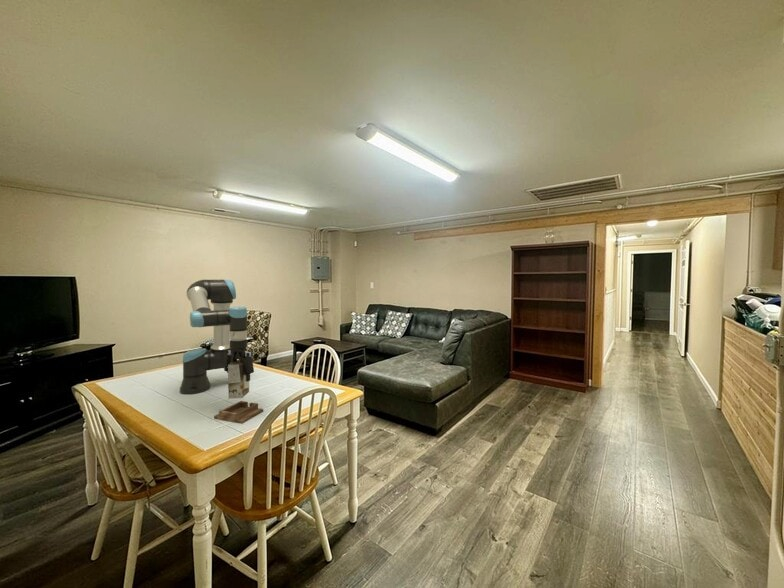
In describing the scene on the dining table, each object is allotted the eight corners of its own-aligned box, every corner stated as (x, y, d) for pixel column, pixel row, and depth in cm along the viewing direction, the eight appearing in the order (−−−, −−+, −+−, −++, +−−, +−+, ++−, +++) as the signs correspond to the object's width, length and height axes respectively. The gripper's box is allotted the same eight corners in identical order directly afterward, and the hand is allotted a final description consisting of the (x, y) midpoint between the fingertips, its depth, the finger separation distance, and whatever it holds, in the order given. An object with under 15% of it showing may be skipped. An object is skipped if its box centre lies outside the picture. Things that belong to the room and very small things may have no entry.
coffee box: (242, 398, 145) (241, 364, 144) (228, 399, 144) (227, 364, 144) (249, 391, 154) (249, 359, 153) (236, 392, 153) (235, 359, 153)
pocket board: (213, 418, 146) (213, 410, 145) (237, 407, 159) (237, 400, 159) (241, 423, 141) (241, 415, 141) (263, 411, 154) (263, 404, 154)
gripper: (214, 339, 148) (215, 387, 149) (250, 342, 141) (251, 391, 142) (227, 336, 155) (228, 382, 156) (262, 339, 149) (262, 386, 149)
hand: (239, 386), depth 149 cm, fingers closed on coffee box, 8 cm apart
